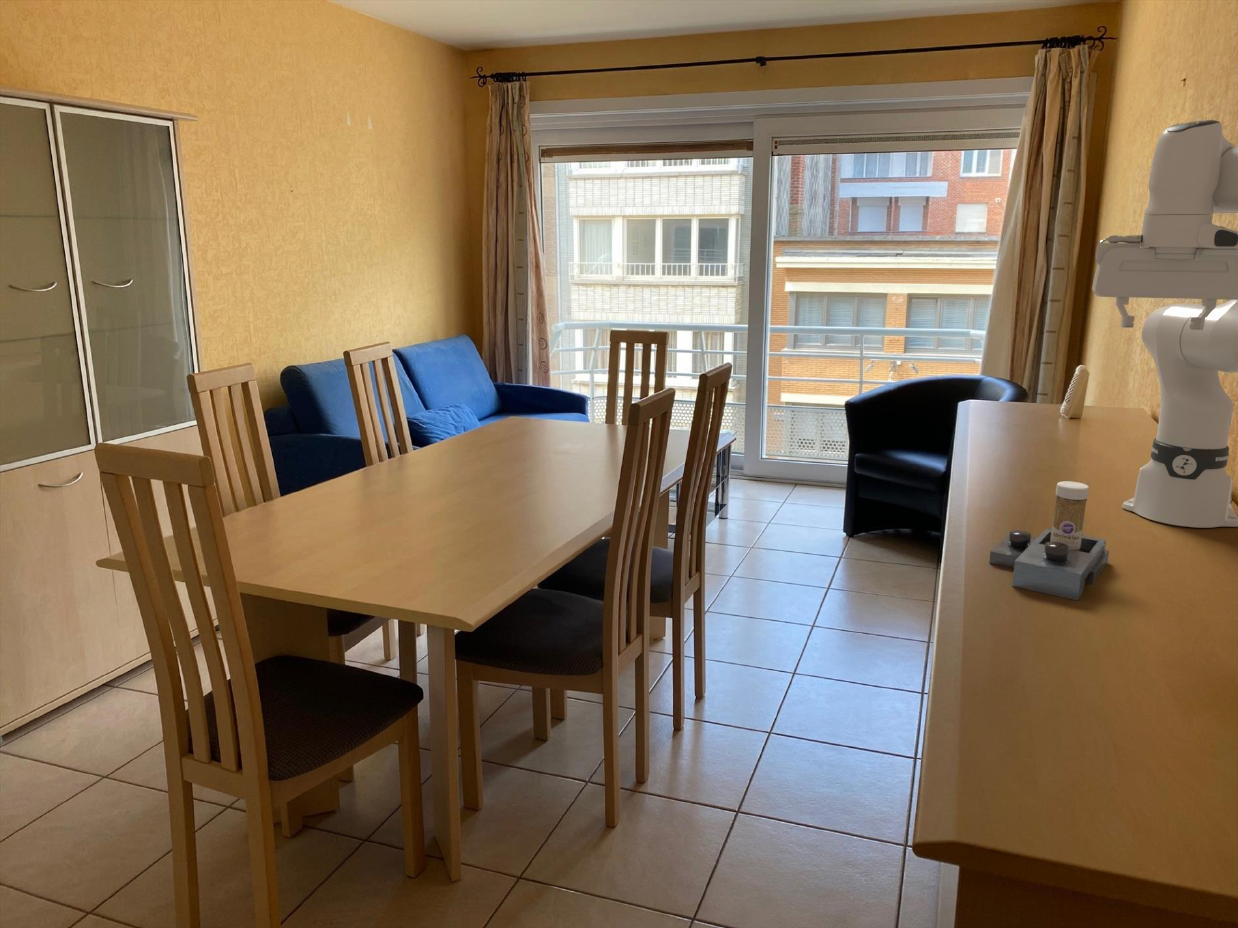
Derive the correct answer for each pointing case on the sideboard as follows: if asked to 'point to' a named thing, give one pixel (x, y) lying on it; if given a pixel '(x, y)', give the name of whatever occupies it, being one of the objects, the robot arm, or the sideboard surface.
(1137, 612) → the sideboard surface
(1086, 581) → the grey knobbed tray
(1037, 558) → the grey box with knob
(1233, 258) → the robot arm
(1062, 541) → the sprinkles bottle
